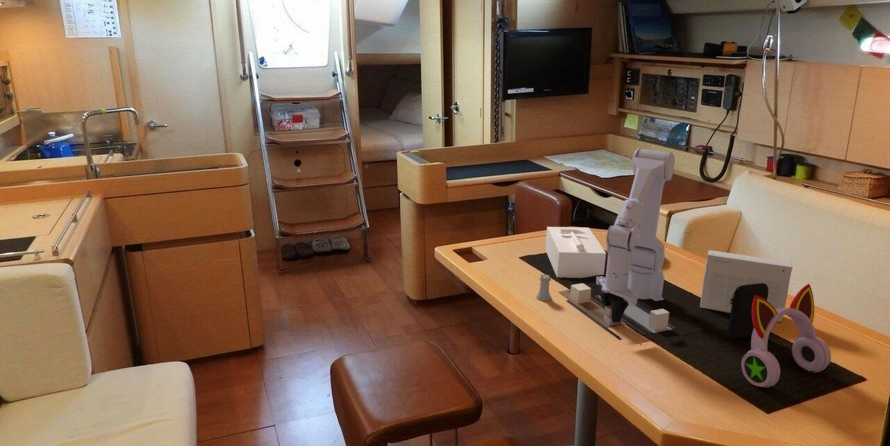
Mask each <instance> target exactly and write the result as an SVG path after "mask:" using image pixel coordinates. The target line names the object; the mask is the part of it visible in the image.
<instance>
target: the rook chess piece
mask: <svg viewBox="0 0 890 446" xmlns="http://www.w3.org/2000/svg"><path fill="white" fill-rule="evenodd" d="M538 280H539V281H540V282H539V285H540V286H539V289H538V290H539V291H538V293H537V294H536V296H535V297H536V299H537V300H539V301H542V302H548V301H551V300H552V295H551V293H550V285H551V284H550V282H551V280H552V278H551V276H550V275H549V274H546V273H543V274H541V275H540V277H539V279H538Z"/></svg>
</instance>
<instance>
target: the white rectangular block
mask: <svg viewBox="0 0 890 446" xmlns="http://www.w3.org/2000/svg"><path fill="white" fill-rule="evenodd" d="M545 236H546V237H545V252H546V254H547V257H548V259H549V261H550V264H551V267H552V269H553V271H554V273H555V276H556V278H564V277H565V278H569V279H573V278H574V279H575V278H576V279H577V278H578V279H583V278H584V279H585V278H589V277H591V278H592V277H595V276H596V277H598V276H602V275H603V276H604V275H605V268H606V260H607V259H606V258H607V256H606V255H607V251H605V250H604V248H603V246H602V245H601V243H600V242H599V241H598V239H597V238H596V236H595V235H594V233H593V232H592V231H591V228H589V227H574V226H573V227H572V226H570V227H569V226H568V227H567V226H546V235H545Z"/></svg>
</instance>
